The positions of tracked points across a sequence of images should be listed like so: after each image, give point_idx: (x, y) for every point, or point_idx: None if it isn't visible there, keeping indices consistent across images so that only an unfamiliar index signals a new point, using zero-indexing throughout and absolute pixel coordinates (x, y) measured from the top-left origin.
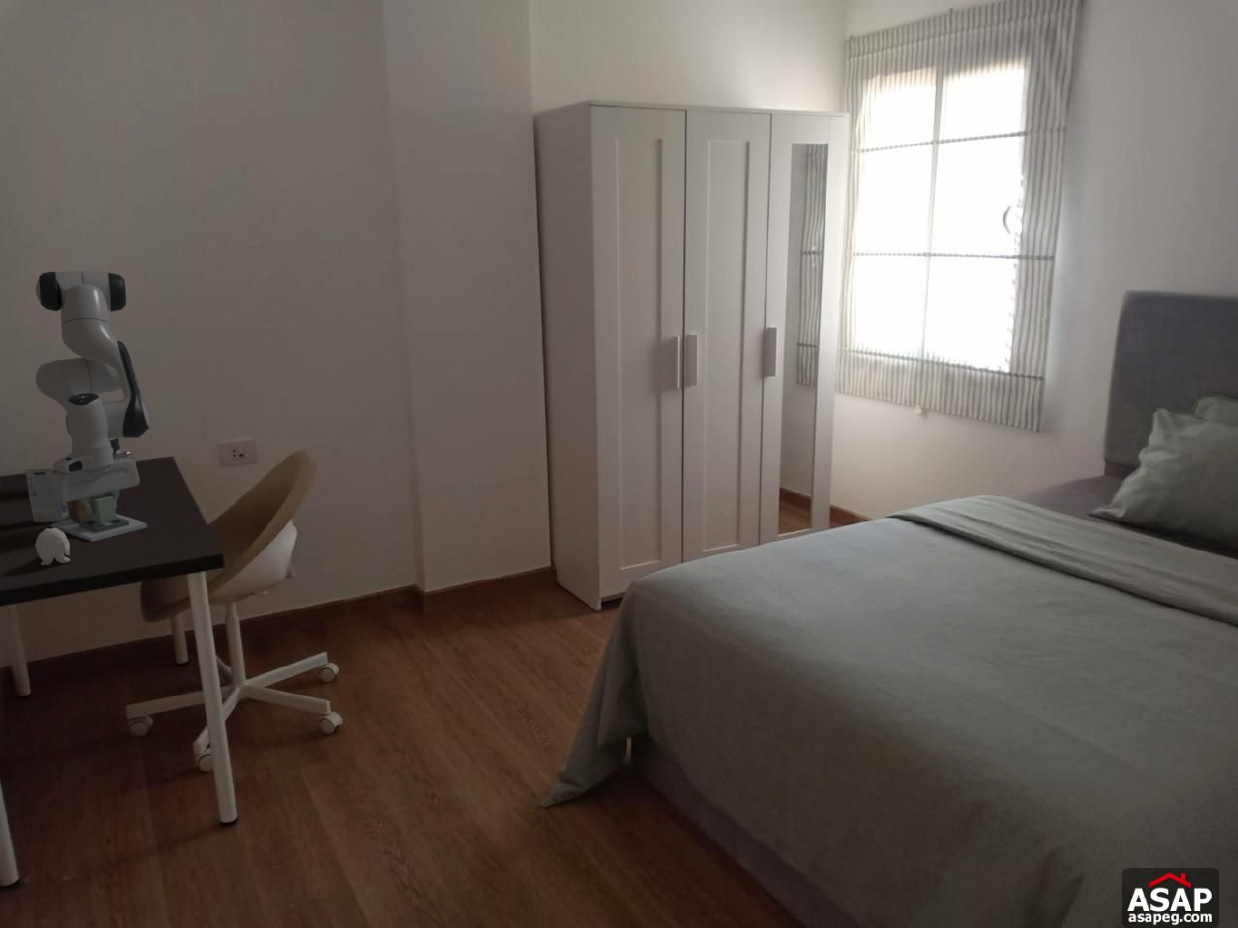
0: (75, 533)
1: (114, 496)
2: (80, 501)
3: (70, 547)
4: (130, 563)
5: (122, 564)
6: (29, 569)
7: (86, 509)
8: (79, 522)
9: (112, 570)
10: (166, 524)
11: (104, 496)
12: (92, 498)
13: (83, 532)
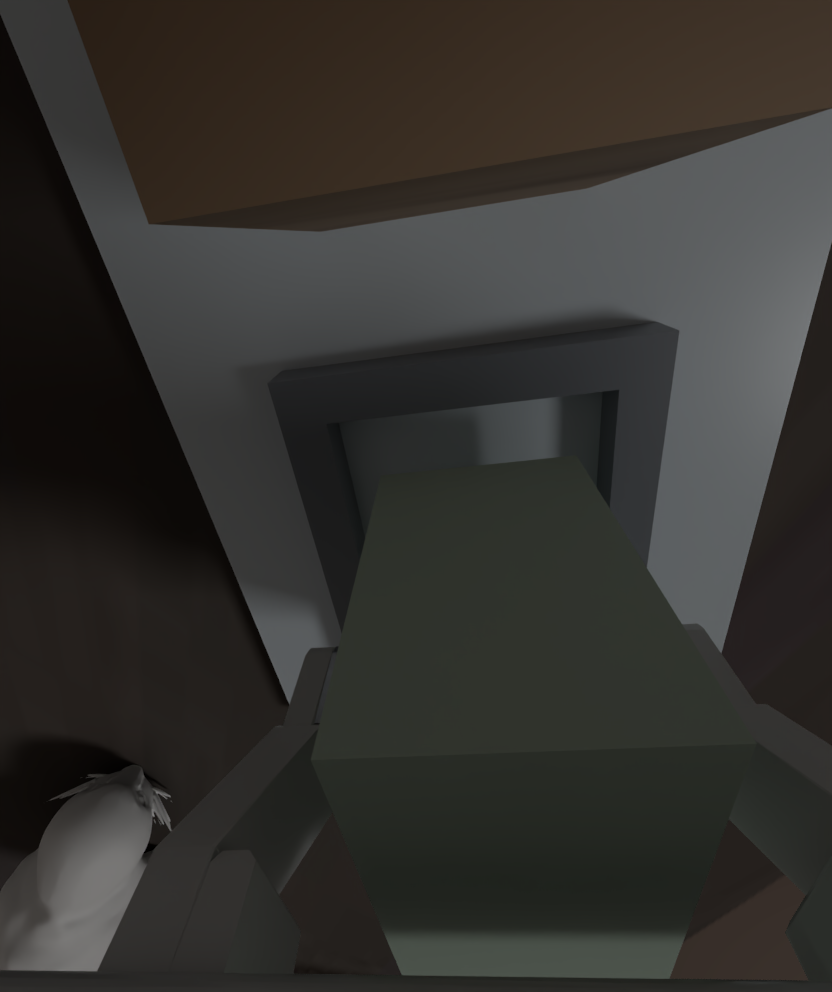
0: (227, 542)
1: (792, 846)
2: (167, 857)
3: (169, 824)
4: (362, 952)
5: (338, 946)
6: (16, 830)
7: (298, 697)
8: (277, 381)
9: (297, 958)
10: (797, 720)
11: (609, 909)
12: (391, 878)
13: (281, 599)
